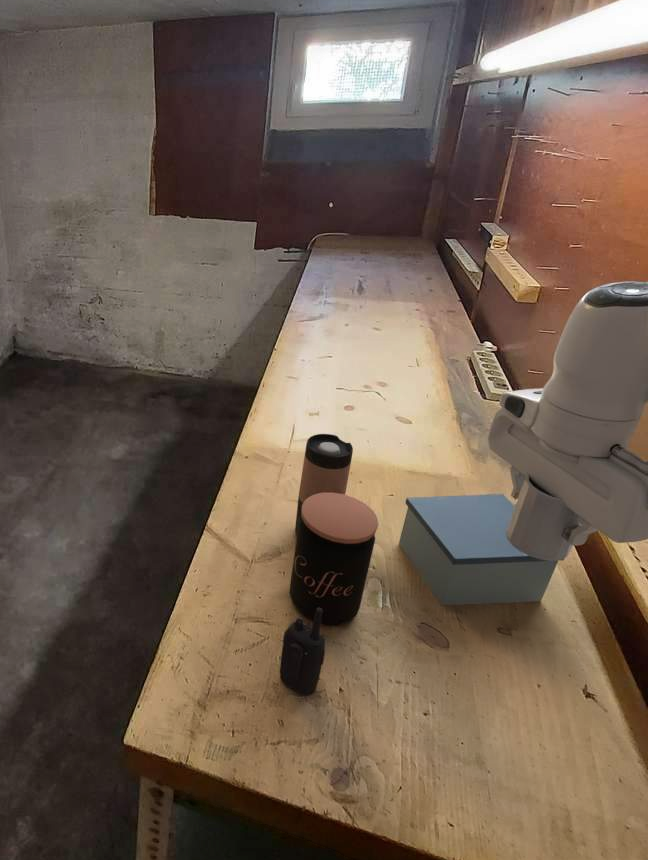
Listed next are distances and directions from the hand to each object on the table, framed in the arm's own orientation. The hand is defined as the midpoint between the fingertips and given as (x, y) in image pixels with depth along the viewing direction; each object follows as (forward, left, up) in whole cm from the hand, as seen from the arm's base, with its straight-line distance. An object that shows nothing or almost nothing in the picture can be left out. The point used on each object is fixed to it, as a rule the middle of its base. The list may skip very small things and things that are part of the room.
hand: (544, 519), depth 70 cm
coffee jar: (+23, -5, -25) cm, 34 cm away
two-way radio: (+28, +11, -25) cm, 39 cm away
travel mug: (+23, -21, -25) cm, 40 cm away
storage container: (-1, -17, -25) cm, 30 cm away
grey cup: (0, 0, -4) cm, 4 cm away
